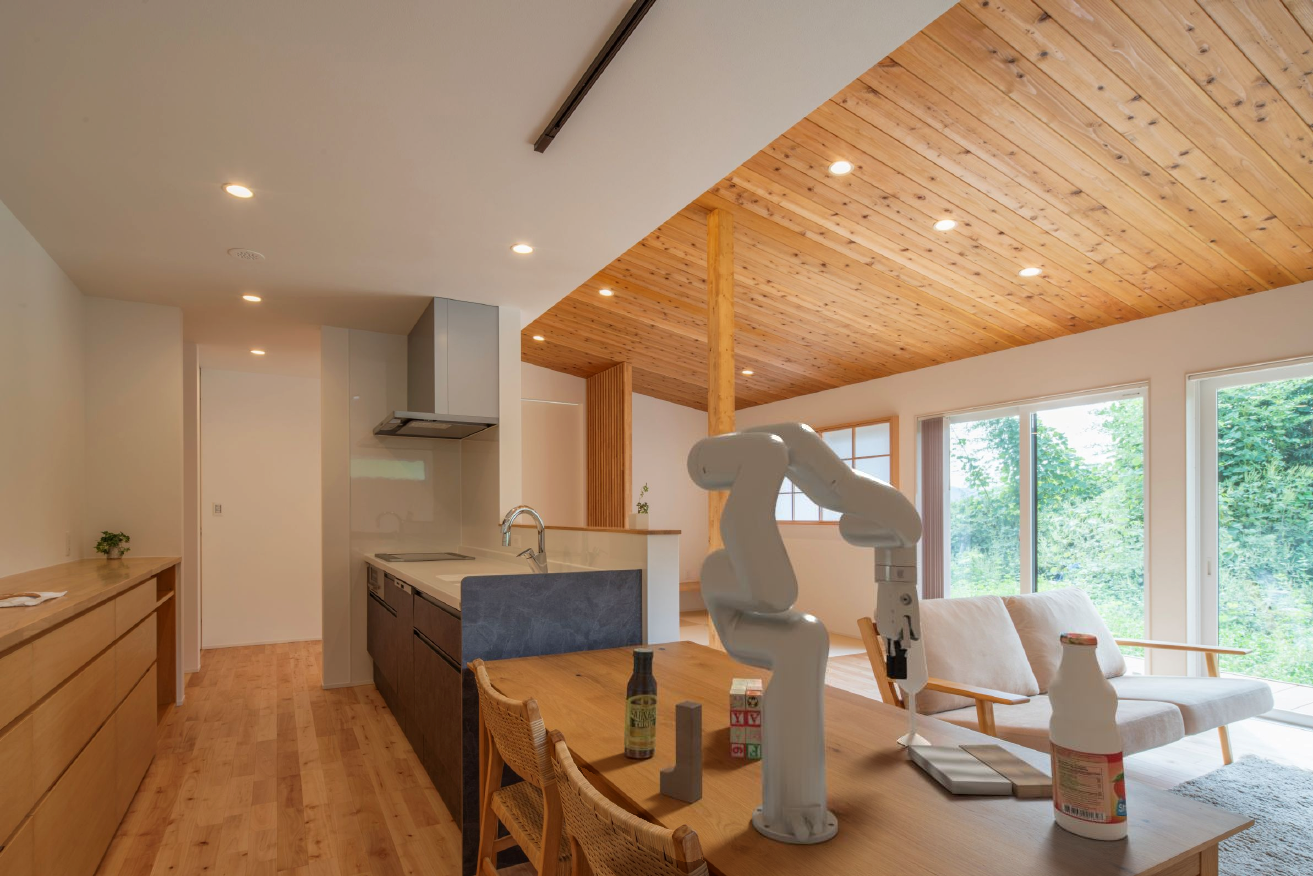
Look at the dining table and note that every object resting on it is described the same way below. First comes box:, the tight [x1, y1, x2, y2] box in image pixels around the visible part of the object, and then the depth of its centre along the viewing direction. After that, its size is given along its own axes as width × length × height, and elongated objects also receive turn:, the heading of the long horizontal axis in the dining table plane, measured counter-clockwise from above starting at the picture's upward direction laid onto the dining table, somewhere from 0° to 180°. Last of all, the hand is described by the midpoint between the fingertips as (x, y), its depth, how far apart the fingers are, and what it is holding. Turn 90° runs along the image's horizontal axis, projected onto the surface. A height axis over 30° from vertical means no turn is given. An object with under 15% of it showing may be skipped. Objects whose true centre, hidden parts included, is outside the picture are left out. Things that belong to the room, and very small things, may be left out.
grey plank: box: [907, 745, 1013, 796], centre depth 124 cm, size 18×10×2 cm, turn 3°
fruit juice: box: [1047, 632, 1128, 841], centre depth 105 cm, size 9×9×28 cm
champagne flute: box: [894, 622, 932, 747], centre depth 143 cm, size 7×7×24 cm
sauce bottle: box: [623, 647, 658, 760], centre depth 135 cm, size 7×6×20 cm
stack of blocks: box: [729, 678, 764, 760], centre depth 143 cm, size 21×6×12 cm, turn 171°
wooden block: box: [659, 700, 703, 804], centre depth 116 cm, size 7×3×15 cm, turn 53°
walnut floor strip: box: [958, 743, 1053, 799], centre depth 124 cm, size 20×8×2 cm, turn 3°
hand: (896, 678), depth 126 cm, fingers closed
